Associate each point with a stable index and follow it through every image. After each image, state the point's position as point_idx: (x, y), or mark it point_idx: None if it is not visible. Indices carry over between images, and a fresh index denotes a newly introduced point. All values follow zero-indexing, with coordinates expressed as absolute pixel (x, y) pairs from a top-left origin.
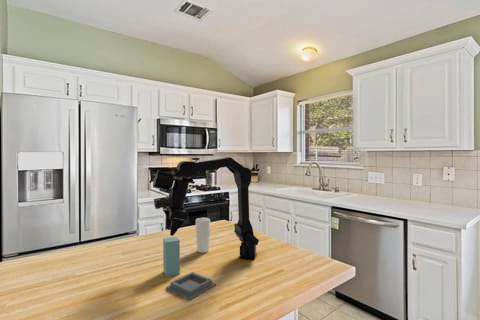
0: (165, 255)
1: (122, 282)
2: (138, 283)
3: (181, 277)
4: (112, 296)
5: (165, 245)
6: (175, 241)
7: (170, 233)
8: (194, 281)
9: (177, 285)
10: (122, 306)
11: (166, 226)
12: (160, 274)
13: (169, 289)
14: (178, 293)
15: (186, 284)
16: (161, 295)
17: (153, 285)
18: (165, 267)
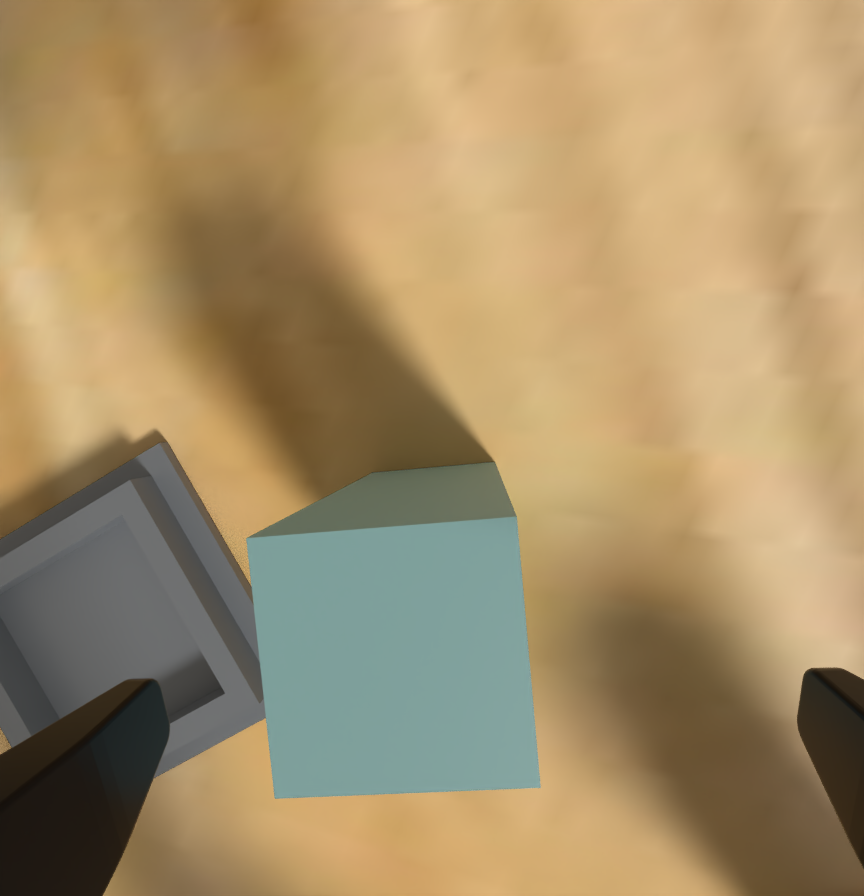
0: (367, 494)
1: (414, 93)
2: (341, 231)
3: (185, 587)
4: (196, 32)
5: (328, 519)
6: (267, 713)
7: (90, 703)
8: (166, 676)
9: (55, 527)
10: (28, 118)
11: (854, 722)
12: (446, 428)
13: (127, 464)
14: (36, 518)
15: (141, 604)
16: (81, 396)
17: (259, 351)
18: (399, 477)
